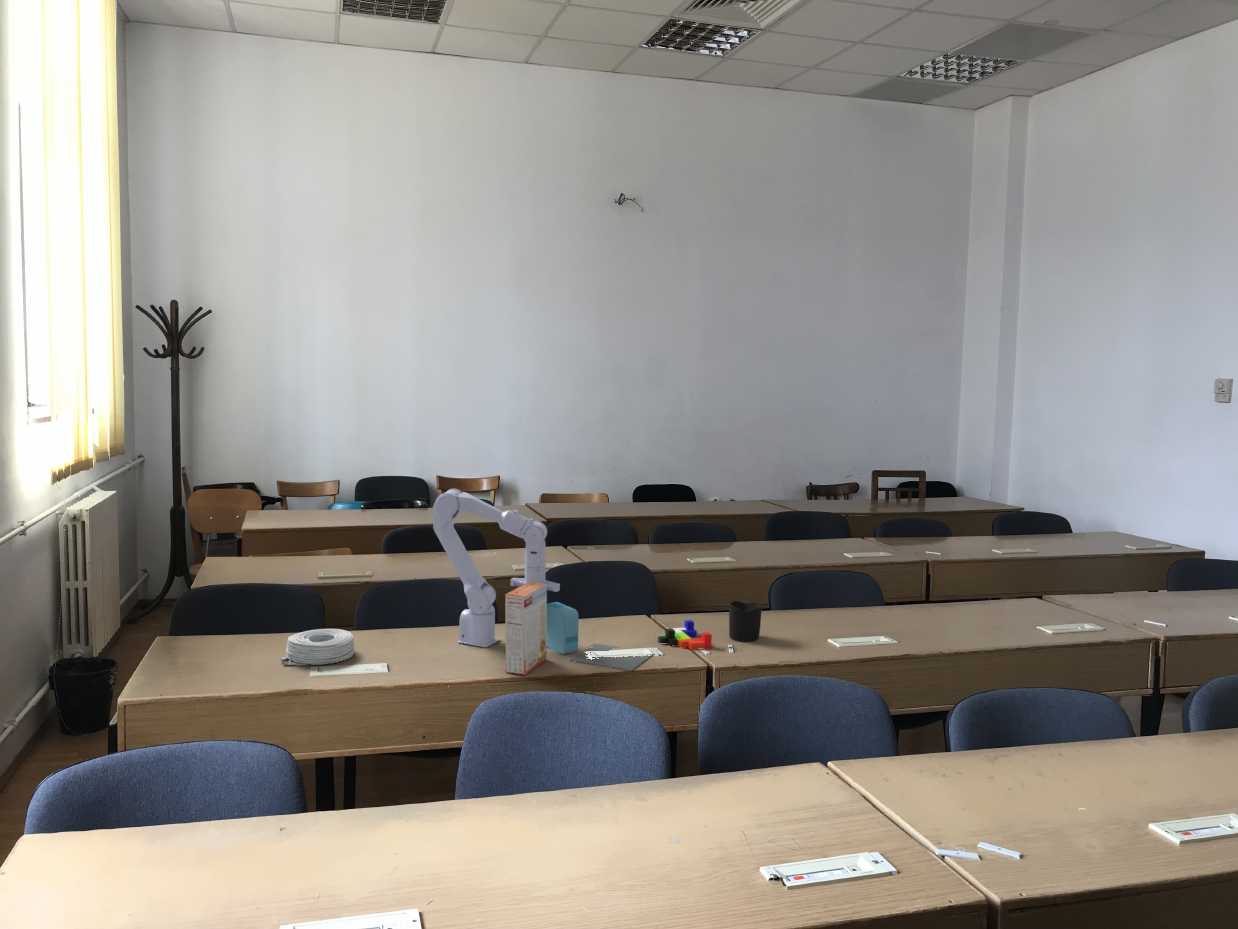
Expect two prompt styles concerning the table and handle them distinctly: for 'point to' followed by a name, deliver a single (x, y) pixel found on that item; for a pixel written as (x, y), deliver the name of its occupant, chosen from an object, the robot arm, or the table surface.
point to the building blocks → (686, 637)
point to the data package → (562, 628)
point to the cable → (319, 647)
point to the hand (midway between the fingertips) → (534, 613)
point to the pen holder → (744, 621)
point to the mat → (610, 658)
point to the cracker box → (526, 627)
